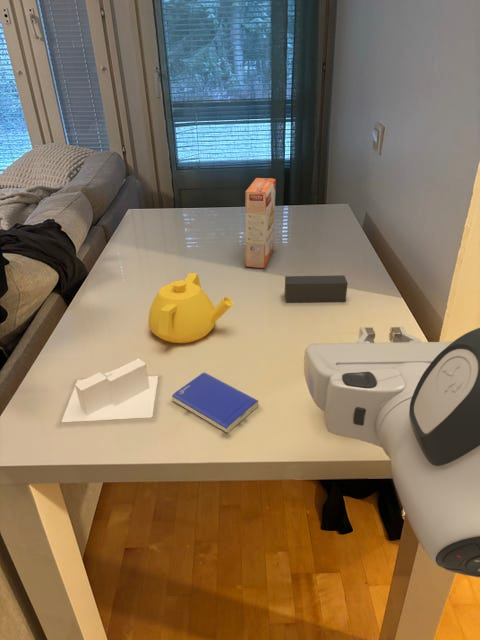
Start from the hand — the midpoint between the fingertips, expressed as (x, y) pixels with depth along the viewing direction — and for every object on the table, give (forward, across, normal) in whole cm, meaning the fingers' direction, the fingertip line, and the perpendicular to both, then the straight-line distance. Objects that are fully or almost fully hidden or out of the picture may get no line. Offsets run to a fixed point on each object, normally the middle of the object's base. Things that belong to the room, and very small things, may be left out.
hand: (380, 331), depth 58 cm
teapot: (+36, +28, +22) cm, 51 cm away
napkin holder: (+14, +40, +22) cm, 48 cm away
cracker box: (+73, +12, +22) cm, 77 cm away
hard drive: (+12, +22, +22) cm, 34 cm away
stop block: (+49, 0, +22) cm, 54 cm away
